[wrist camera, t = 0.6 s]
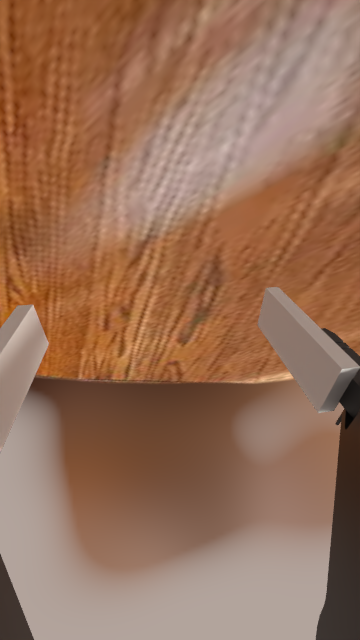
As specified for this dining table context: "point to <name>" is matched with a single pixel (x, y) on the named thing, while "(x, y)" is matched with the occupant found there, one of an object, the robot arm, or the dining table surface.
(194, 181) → the dining table surface
